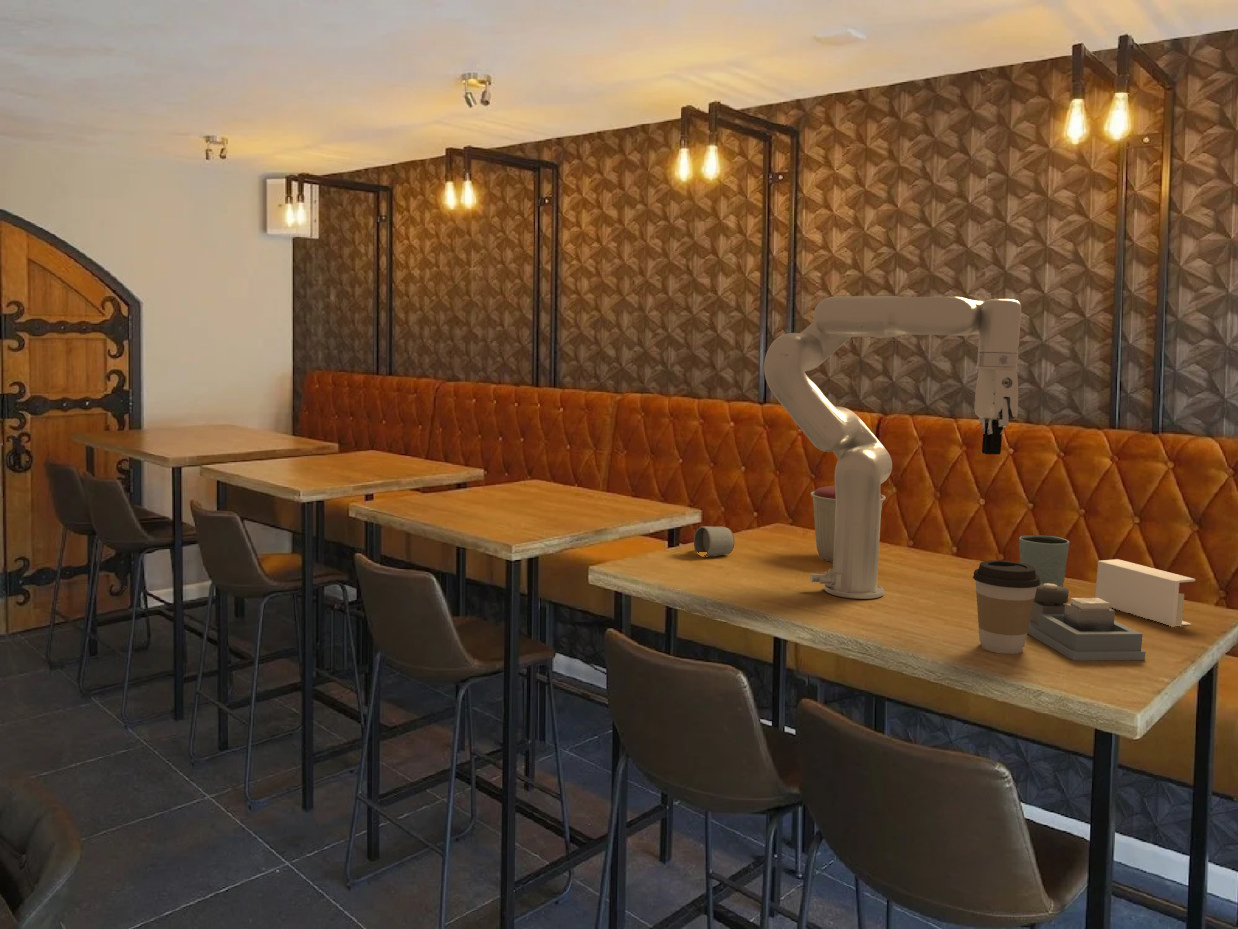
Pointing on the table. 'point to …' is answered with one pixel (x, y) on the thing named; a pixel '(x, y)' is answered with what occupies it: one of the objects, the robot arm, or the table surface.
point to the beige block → (1089, 615)
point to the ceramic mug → (714, 540)
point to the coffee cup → (1004, 604)
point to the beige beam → (1141, 591)
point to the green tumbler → (1045, 557)
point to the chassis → (1083, 637)
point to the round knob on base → (1051, 594)
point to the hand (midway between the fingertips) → (991, 453)
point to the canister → (826, 520)
